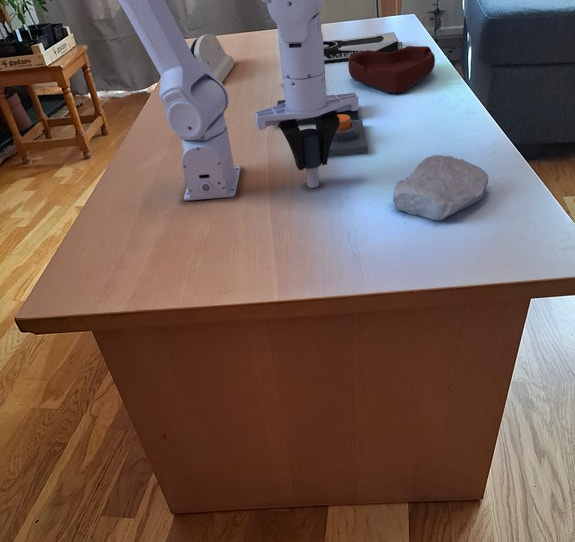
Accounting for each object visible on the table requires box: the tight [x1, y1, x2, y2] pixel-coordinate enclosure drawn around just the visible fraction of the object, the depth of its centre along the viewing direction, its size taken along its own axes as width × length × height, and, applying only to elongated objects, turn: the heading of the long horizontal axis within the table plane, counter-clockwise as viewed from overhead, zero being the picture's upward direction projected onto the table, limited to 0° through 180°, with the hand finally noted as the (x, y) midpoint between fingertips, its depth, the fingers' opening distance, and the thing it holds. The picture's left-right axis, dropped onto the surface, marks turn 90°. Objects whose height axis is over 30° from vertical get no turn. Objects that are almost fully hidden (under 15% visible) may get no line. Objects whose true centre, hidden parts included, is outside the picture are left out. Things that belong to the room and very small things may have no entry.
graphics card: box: [323, 31, 403, 64], centre depth 133 cm, size 10×3×25 cm
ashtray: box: [347, 45, 436, 95], centre depth 114 cm, size 18×16×5 cm
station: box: [328, 119, 369, 158], centre depth 94 cm, size 11×8×3 cm
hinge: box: [188, 33, 236, 84], centre depth 131 cm, size 17×5×10 cm, turn 172°
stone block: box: [392, 154, 489, 222], centre depth 76 cm, size 12×5×10 cm
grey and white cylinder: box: [300, 127, 322, 189], centre depth 81 cm, size 3×3×8 cm
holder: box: [276, 92, 359, 128], centre depth 104 cm, size 6×15×3 cm, turn 88°
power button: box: [337, 114, 350, 131], centre depth 93 cm, size 3×3×2 cm
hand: (311, 164), depth 81 cm, fingers closed on grey and white cylinder, 3 cm apart
